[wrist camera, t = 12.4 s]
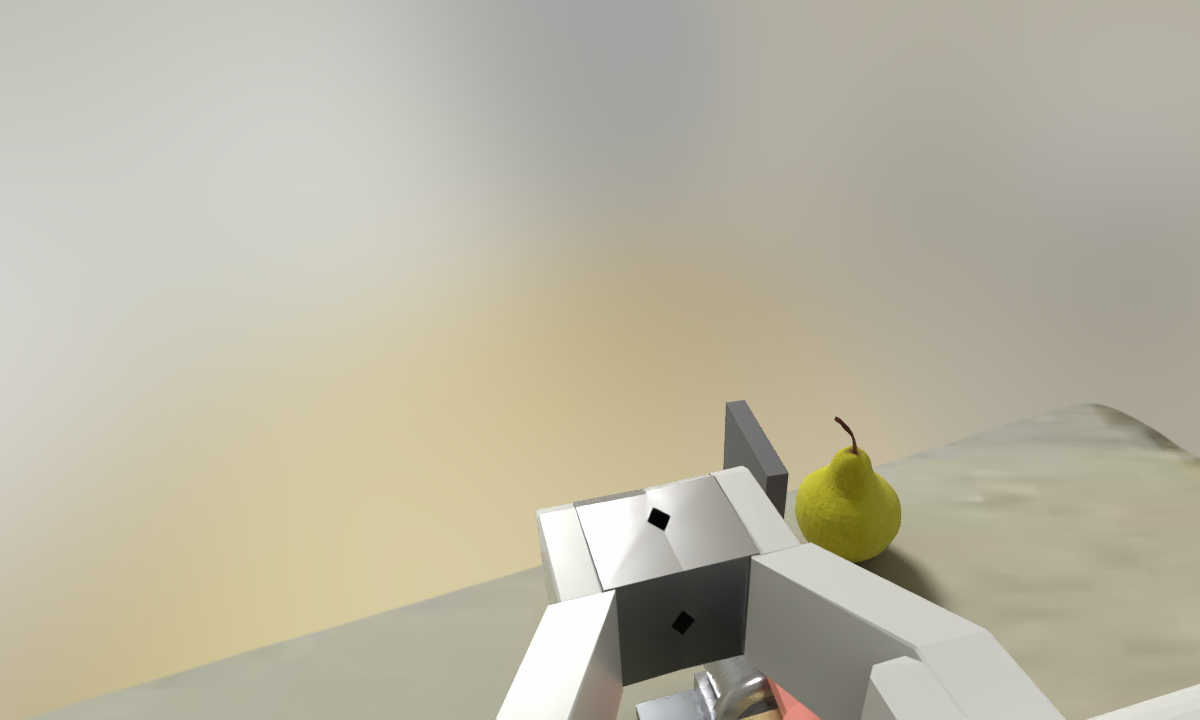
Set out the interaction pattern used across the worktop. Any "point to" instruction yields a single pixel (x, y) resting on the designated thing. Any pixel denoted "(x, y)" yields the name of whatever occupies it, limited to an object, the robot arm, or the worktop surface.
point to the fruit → (848, 506)
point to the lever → (765, 465)
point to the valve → (718, 696)
